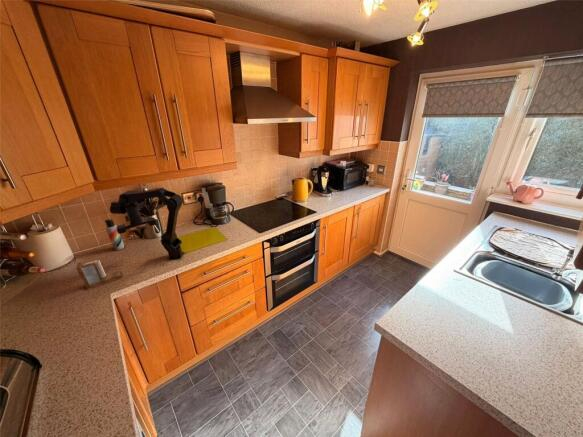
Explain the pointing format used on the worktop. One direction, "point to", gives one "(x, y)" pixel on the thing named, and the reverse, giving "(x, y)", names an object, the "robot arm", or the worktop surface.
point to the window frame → (94, 275)
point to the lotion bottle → (114, 235)
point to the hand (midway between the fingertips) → (141, 238)
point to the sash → (98, 267)
